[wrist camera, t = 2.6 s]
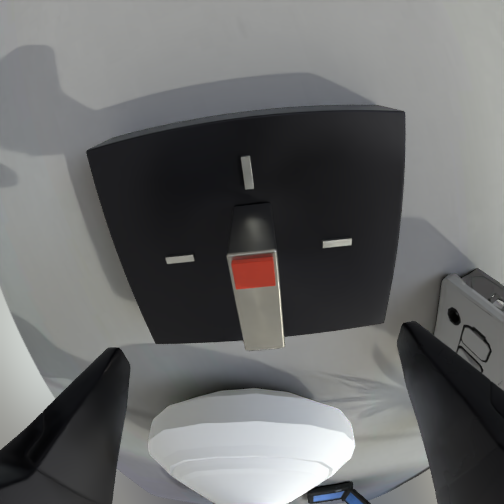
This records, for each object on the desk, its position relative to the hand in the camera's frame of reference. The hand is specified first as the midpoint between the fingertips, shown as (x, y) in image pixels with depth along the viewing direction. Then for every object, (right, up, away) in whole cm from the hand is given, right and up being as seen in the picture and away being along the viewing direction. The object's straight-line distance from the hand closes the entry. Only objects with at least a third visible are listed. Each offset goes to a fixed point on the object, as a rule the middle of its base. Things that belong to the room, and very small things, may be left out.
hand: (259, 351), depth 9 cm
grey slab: (0, +3, +5) cm, 6 cm away
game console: (+19, -50, +40) cm, 67 cm away
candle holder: (0, -14, +19) cm, 24 cm away
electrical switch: (+17, -1, +12) cm, 21 cm away
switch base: (0, +5, +8) cm, 9 cm away
